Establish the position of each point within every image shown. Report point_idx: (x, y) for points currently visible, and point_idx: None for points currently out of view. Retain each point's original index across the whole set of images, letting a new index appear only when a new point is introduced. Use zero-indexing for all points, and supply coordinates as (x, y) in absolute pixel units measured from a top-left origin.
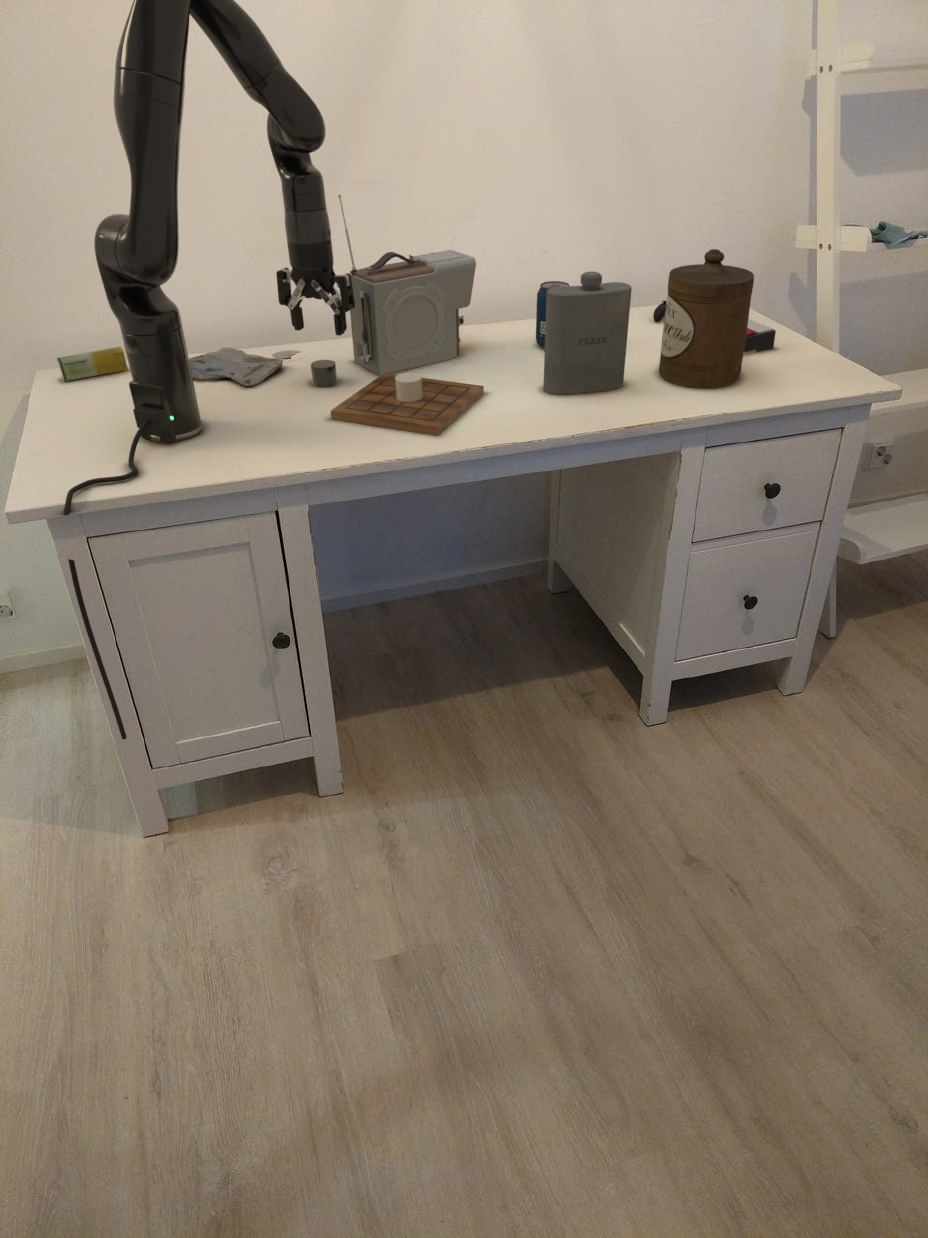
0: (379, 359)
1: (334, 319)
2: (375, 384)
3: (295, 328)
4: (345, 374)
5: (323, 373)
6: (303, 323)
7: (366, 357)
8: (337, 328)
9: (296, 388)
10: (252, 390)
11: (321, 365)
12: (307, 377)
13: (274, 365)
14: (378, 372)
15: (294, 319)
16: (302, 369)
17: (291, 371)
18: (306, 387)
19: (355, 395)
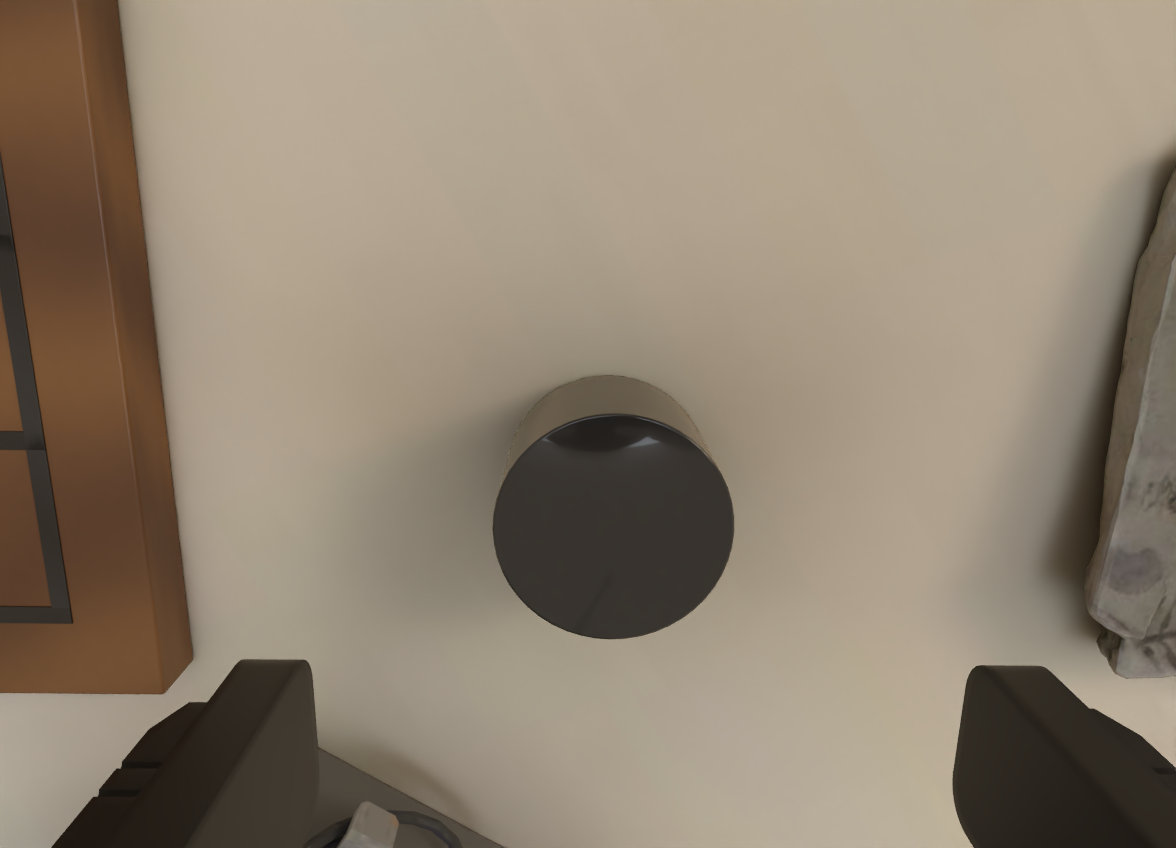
0: None
1: (189, 816)
2: (63, 430)
3: (1030, 669)
4: (546, 673)
5: (555, 413)
6: (979, 845)
7: (371, 833)
8: (219, 711)
9: (771, 280)
10: (1123, 107)
11: (603, 482)
12: (801, 527)
13: (1130, 532)
14: None
15: (1116, 757)
16: (919, 661)
17: (985, 599)
18: (701, 329)
19: (59, 121)
